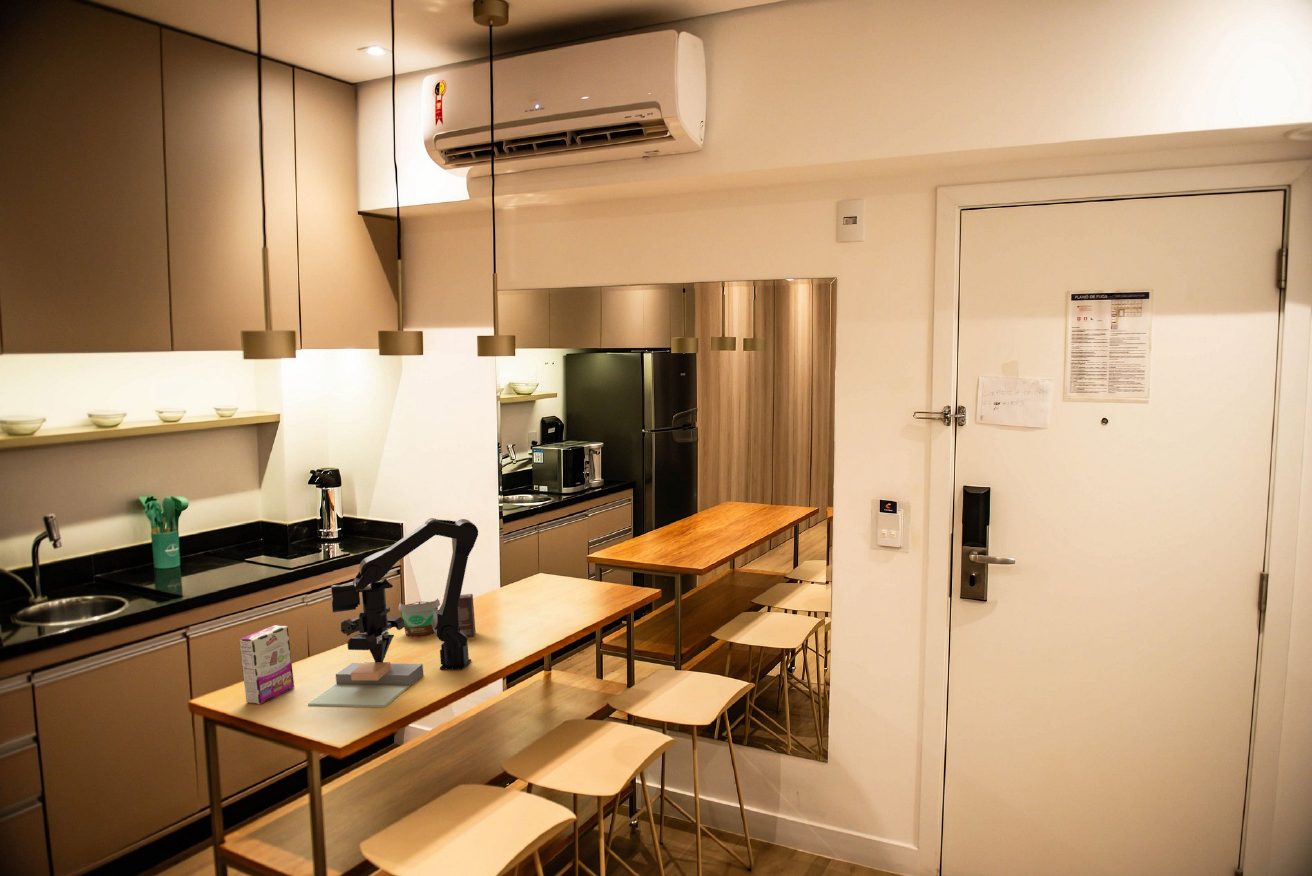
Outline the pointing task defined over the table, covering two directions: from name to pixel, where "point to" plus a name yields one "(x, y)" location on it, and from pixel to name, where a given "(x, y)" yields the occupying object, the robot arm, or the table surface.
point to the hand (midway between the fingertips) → (379, 665)
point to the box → (466, 614)
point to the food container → (418, 618)
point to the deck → (395, 676)
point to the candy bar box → (266, 664)
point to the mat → (358, 695)
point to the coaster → (371, 671)
